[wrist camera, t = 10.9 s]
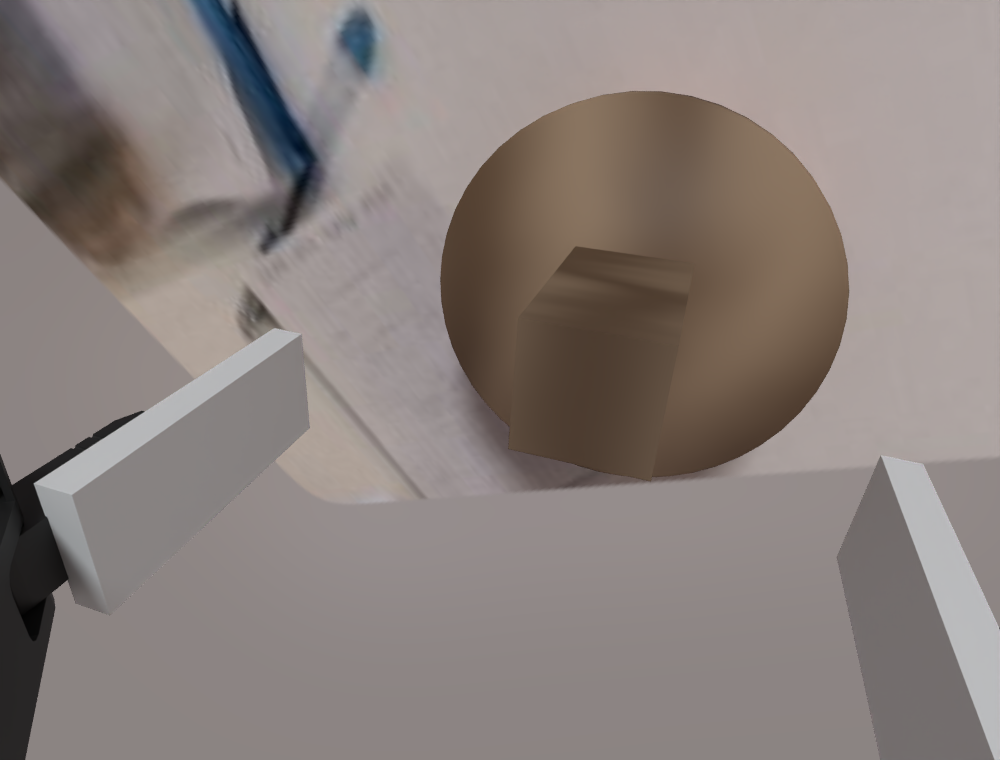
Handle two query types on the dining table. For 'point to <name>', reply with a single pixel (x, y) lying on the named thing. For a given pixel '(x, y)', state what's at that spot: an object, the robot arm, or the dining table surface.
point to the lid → (644, 285)
